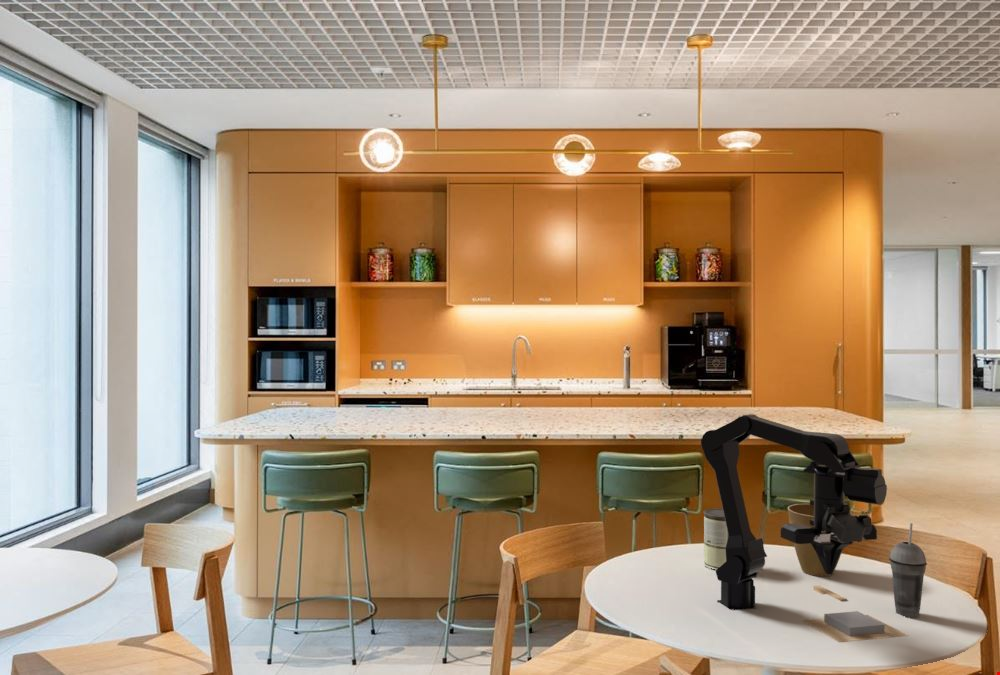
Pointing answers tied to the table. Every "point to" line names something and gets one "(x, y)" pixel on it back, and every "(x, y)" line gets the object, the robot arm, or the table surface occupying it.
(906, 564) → the beverage cup
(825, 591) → the wooden turner
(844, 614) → the slate tile
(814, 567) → the plant pot
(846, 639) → the cork mat
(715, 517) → the coffee can
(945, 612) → the table surface
